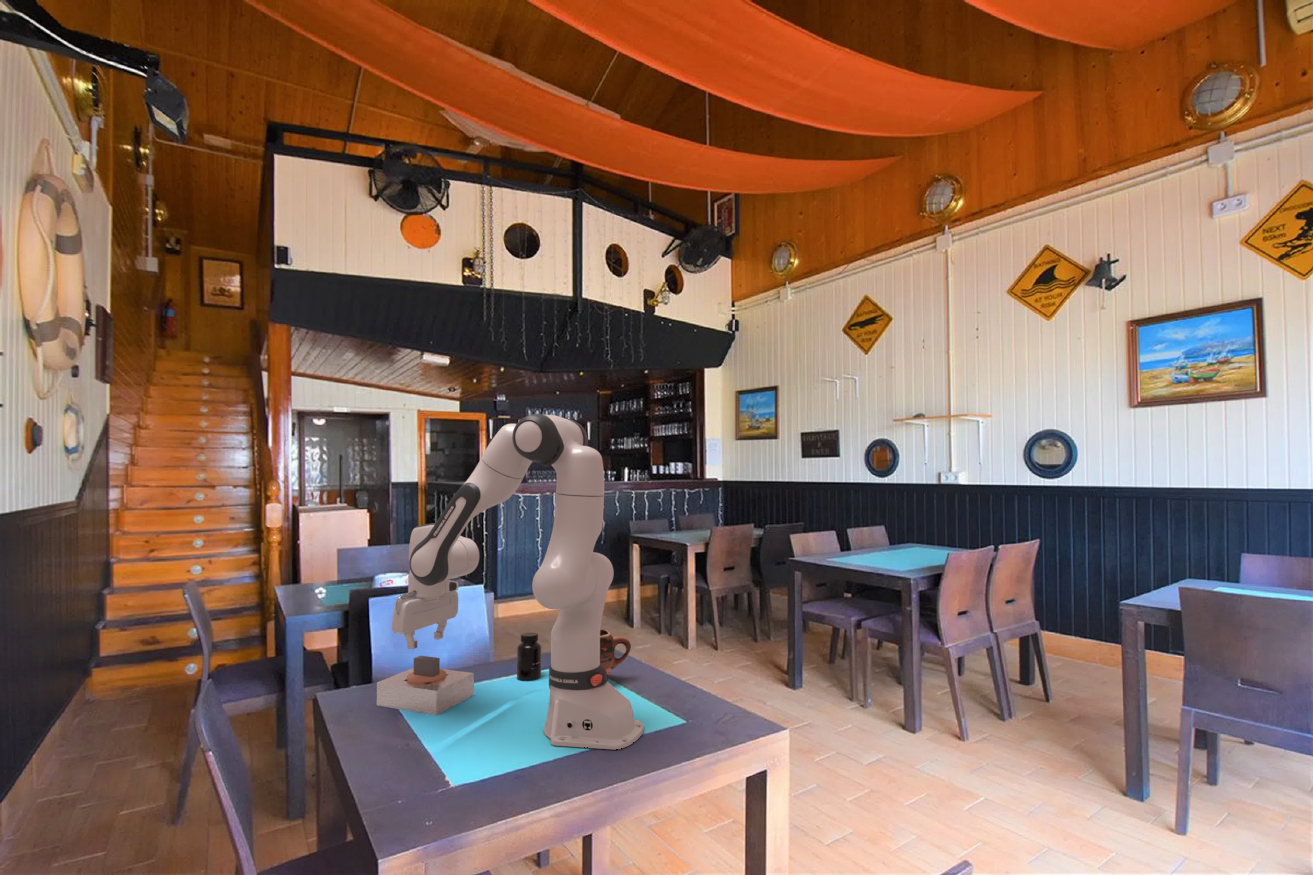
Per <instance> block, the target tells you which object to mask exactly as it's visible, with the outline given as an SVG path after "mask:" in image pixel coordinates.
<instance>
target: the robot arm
mask: <svg viewBox="0 0 1313 875" xmlns="http://www.w3.org/2000/svg"><path fill="white" fill-rule="evenodd" d="M588 440H589V438H588V435H587V432H586V430H585V428H584V426H582V425H581V424H580V423H578V422H577V421H575V420H573V419H570V418H565V417H562V416H559V415H555V414H553V415H552V414H542V413H534V414H530V415H527V416H525V417H523V418H520V419H519V421H518V422H517V423H507V424H504V425H503V426H502V427H501V428H499V430H498V431H497V432H496V434H495V435H494V436H493V438H492V439H491V440H490V442H489V443H488V446H486V449H485V450H484V452H483V454H482V456H481V458H480V460H479V461H478V463H477V464H476V466H475V468H474V469H473V471H472V472H471V474H470V476H469V477H467V479H466V481H465V482H464V483H463V484H462V485H461V486H460V487H459V489H458V490H457V491H456V492H455V493H454V495H453V496H452V497H451V499H450V500H449V502H448V503H447V505H446V506H445V508H444V510H443V511H442V512H441V514H440V515H439V517H438V518H437V520H436V522H432V523H426V524H425V523H424V524H419V525H417V526H415V527H414V528H413V530H412V531H411V534H410V538H409V539H410V540H409V544H408V545H409V549H408V561H409V569H410V570H409V573H408V578H407V579H408V586H407V588H408V589H407V592H406V593H401V594H400V595H399V596H398V597H397V599H396V600H395V602H394V603H395V605H394V608H393V612H392V618H391V619H392V620H391V630H392V632H393V633H394V634H397V635H399V634H400V635H403V636H404V638H405V640H406V642H407V643H406V644H407V645H406V646H407V647H406V648H407V649H408V650H413V649H414V650H415V649H417V648H418V640H415V638H414V635H415V634H416V631H417V630H420V629H423V628H426V627H429V626H432V625H433V626H434V625H435V624H436V625H437V628H436V631H434V633H433V638H434V640H442V639H443V638H444V632H445V629H446V627H447V624H448V620H451V619H453V618H456V616H457V615H458V612H459V593H458V590H459V587H460V585H459V584H460V583H459V582H458V581H455V580H452V579H456V578H460V577H463V576H467V575H469V574H472V573H473V572H474V571H475V570H476V569H477V568H478V566H479V564H480V559H481V555H480V554H481V553H480V548H479V547H478V545H477V543H476V542H475V541H474V540H473V539H472V538H469V537H464V536H462V535H461V534H462V533H463V532H464V530H465V529H466V528H467V525H468V524H469V523H470V521H472V519H474V518H475V517H476V516H478V515H479V514H481V513H482V512H484V511H486V510H488V509H490V508H492V507H495V506H497V505H500V504H502V503H504V502H506V501H508V500H509V499H510V498H511V497H512V496H513V495H514V493H515V492H516V491H517V490H518V489H519V486H520V485H521V483H522V481H523V479H524V478H525V475H526V474H527V472H528V469H529V468H530V466H531V464H532V463H537V464H539V465H542V467H543V466H544V467H551V466H552V468H553V469H554V471H555V474H556V490H555V503H554V504H555V505H554V515H553V516H554V517H553V526H552V531H551V536H550V540H549V542H548V545H547V550H546V552H545V555H544V558H543V561H542V563H541V565H540V567H539V568H538V569H537V571H536V572H535V574H534V575H533V577H532V578H533V579H532V583H531V587H532V588H531V589H532V593H533V596H534V598H535V600H536V601H537V603H538V604H539V605H541V606H542V607H543V608H545V609H548V610H559V611H558V614H557V618H556V620H555V622H554V624H553V625H552V629H551V632H550V665H549V667H548V687H549V690H550V691H549V700H548V701H549V702H548V709H547V714H546V720H545V723H544V727H543V734H544V735H545V736H546V737H547V738H549V740H550V741H549V742H550V744H551V745H552V746H556V747H557V746H558V747H571V748H572V747H573V748H584V747H585V749H599V750H603V749H604V750H613V751H614V750H616V749H618V750H622V749H624V748H626V747H627V748H628V747H629V746H630V745H632V744H634V743H635V742H636V741H638V739H640V737H641V736H642V735H643V734H644V730H645V727H644V726H645V725H644V723H643V721H641V720H637V719H635V718H634V709H633V706H632V705H633V704H632V702H631V701H630V700H629V699H628V698H627V697H626V696H625V695H624V694H622V693H621V692H620V691H619V690H618V689H616V687H614V686H613V685H612V684H611V683H610V682H609V681H608V682H607V674H608V675H609V674H610V673H611V671H610V670H611V668H608V669H607V670H605V669H604V668H603V667H602V665H601V663H600V629H602V628H601V627H602V626H601V625H602V620H603V614H604V609H605V605H606V599H607V594H608V591H609V589H610V586H611V584H612V582H613V579H614V567H613V564H612V562H611V561H610V559H609V558H608V557H607V556H605V555H604V554H602V553H600V552H595V551H594V548H595V546H596V542H597V540H598V538H599V536H600V535H601V533H602V529H603V523H604V522H603V521H604V505H605V470H604V469H605V468H604V462H603V457H602V455H601V453H600V452H599V451H598V450H597V449H595V448H593V447H590V446H588V444H589V441H588ZM633 742H634V743H633ZM587 747H588V748H587ZM621 748H622V749H621Z"/></svg>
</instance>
